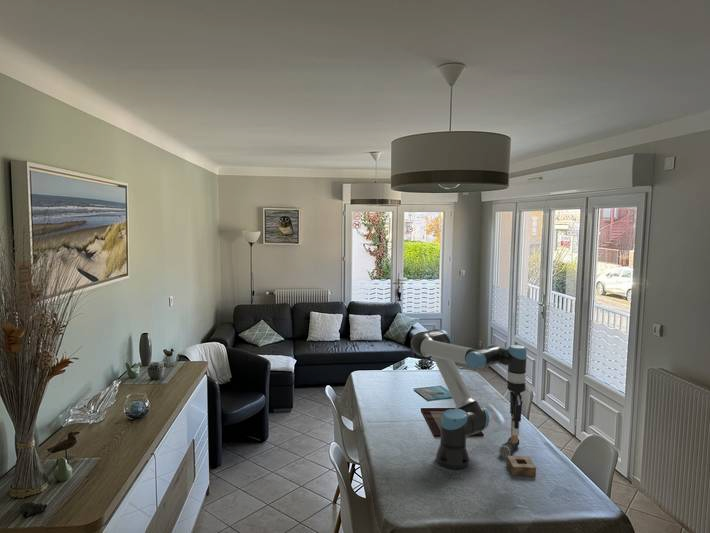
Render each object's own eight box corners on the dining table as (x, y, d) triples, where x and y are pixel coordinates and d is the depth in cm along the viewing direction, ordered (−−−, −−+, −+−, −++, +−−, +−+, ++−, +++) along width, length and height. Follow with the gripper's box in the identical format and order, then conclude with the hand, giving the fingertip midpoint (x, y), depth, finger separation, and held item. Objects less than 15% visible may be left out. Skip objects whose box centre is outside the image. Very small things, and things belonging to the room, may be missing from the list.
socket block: (512, 475, 210) (513, 466, 210) (506, 463, 220) (507, 455, 219) (535, 476, 209) (536, 467, 209) (528, 464, 219) (529, 456, 219)
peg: (511, 442, 208) (512, 416, 207) (510, 440, 211) (511, 413, 210) (518, 443, 208) (519, 416, 207) (516, 440, 211) (517, 414, 210)
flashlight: (509, 444, 241) (509, 433, 240) (520, 447, 237) (520, 436, 237) (498, 455, 228) (499, 444, 228) (510, 458, 225) (510, 447, 225)
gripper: (529, 387, 199) (527, 441, 201) (521, 376, 214) (519, 426, 216) (511, 386, 200) (509, 440, 202) (504, 375, 215) (502, 425, 217)
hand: (514, 433), depth 209 cm, fingers closed on peg, 2 cm apart
